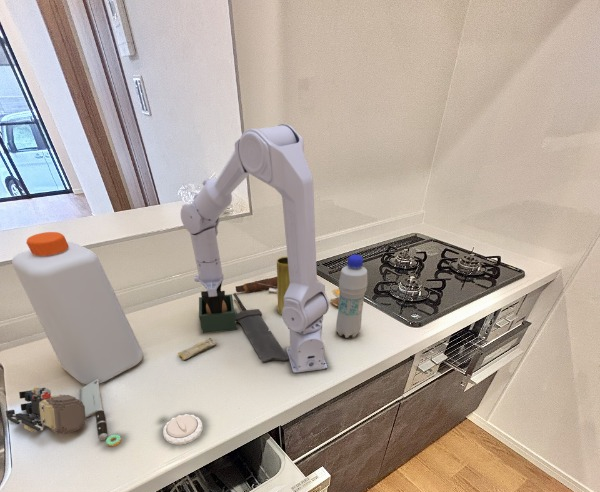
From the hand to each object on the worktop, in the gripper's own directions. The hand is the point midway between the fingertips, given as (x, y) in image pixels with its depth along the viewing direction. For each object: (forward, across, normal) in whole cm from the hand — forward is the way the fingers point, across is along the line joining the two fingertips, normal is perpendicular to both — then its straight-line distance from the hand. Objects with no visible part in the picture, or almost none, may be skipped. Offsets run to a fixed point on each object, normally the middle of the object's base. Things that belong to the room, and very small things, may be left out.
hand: (217, 309), depth 93 cm
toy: (+1, +26, -39) cm, 47 cm away
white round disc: (+4, +39, -8) cm, 40 cm away
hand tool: (+1, -16, +31) cm, 35 cm away
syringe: (+2, -13, +16) cm, 20 cm away
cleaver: (+4, +31, -28) cm, 42 cm away
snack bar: (+4, +13, -6) cm, 15 cm away
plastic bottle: (+3, +14, -27) cm, 30 cm away
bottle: (+4, +13, +32) cm, 35 cm away
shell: (+2, 0, +33) cm, 33 cm away
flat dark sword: (+3, +5, +9) cm, 11 cm away
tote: (+3, 0, 0) cm, 3 cm away
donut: (+4, +37, -17) cm, 41 cm away
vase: (+4, -2, +20) cm, 20 cm away
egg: (+3, 0, 0) cm, 3 cm away
